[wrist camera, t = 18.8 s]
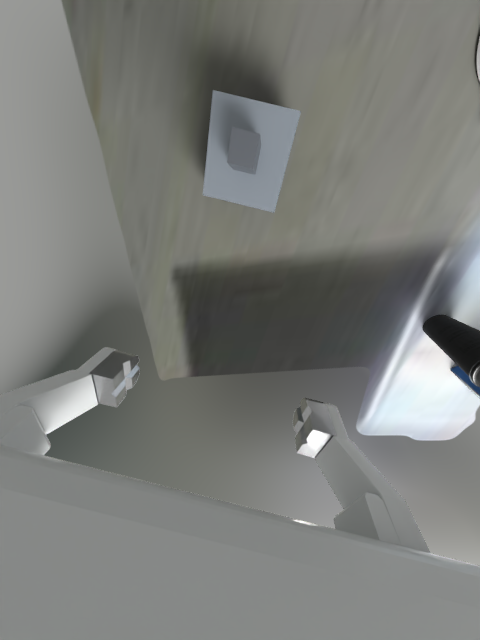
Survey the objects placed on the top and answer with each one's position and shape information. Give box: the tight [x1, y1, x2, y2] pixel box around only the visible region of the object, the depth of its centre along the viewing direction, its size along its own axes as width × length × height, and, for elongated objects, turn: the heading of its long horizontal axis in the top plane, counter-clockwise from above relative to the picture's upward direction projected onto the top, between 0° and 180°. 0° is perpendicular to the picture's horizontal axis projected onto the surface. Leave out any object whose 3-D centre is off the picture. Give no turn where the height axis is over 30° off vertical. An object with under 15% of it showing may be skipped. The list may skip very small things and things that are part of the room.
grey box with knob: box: [203, 90, 301, 213], centre depth 27 cm, size 10×10×13 cm
